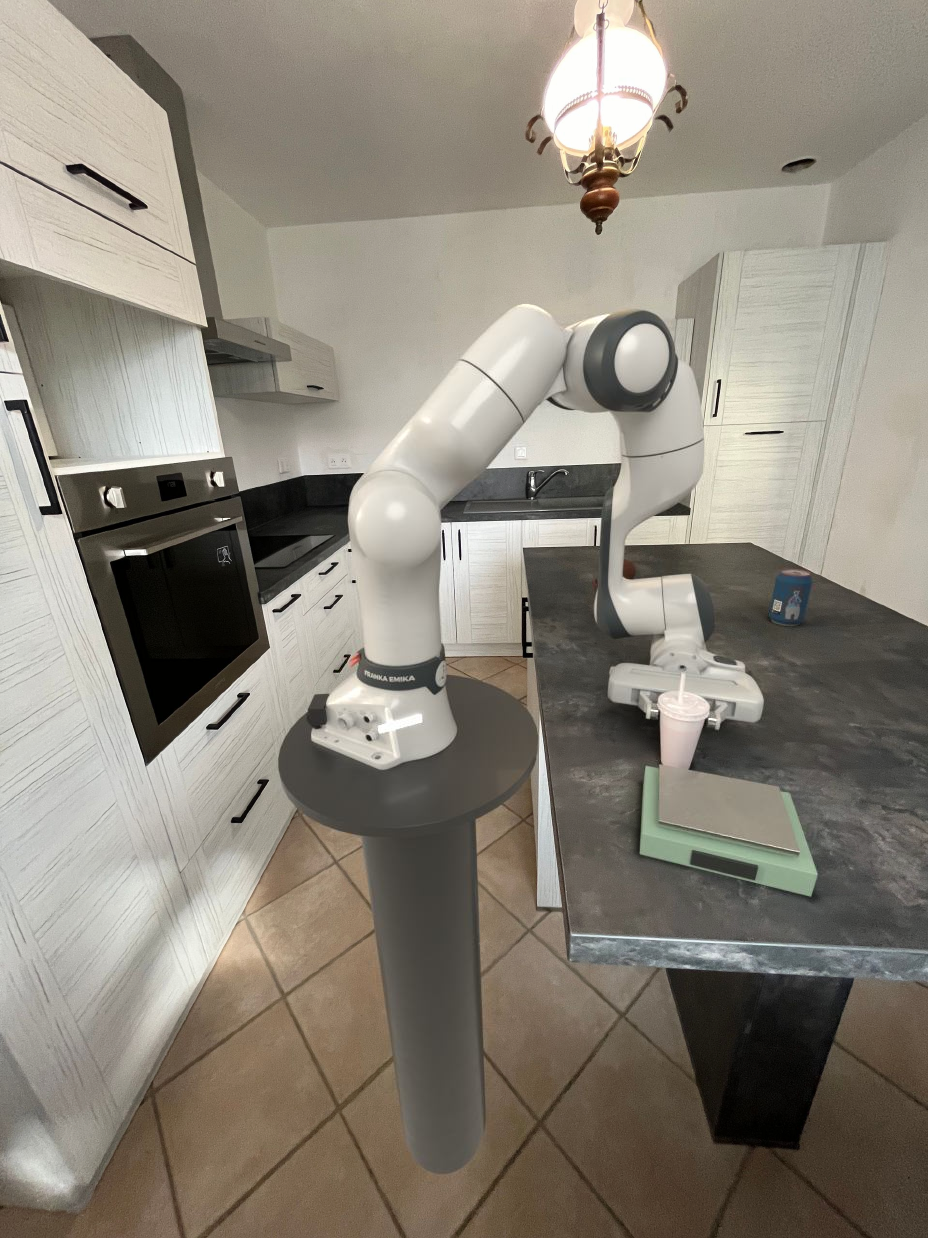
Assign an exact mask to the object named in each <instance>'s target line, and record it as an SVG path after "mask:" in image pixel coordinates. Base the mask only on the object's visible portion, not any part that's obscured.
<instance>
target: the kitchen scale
mask: <svg viewBox="0 0 928 1238" xmlns="http://www.w3.org/2000/svg"><path fill="white" fill-rule="evenodd" d="M644 768H645V769H644V775H643V785H642V803H641V822H640V823H641V824H640V841H639V854H640V855H641V856H645V857H648V858H649V857H650V858H653V859H656V860H662V861H666V862H669V863H674V864H678V865H681V866H685V867H689V868H693V869H697V870H702V871H706V872H710V873H715V874H716V875H717V874H718V875H722V876H726V877H730V878H734V879H737V880H738V879H739V880H742V881H745V882H750V883H754V884H758V885H763V886H765V887H766V886H767V887H771V888H774V889H778V890H782V891H785V892H786V891H787V892H790V893H793V894H797V895H803V896H806V897H809V898H810V897H812V895H813V891H814V889H815V886H816V882H817V879H818V875H819V873H818V871H817V868H816V865H815V862H814V860H813V857H812V856H813V855H812V854H811V850H810V847H809V844H808V842H807V839H806V836H805V834H804V830H803V828H802V825H801V824H802V823H801V822H800V818H799V816H798V813H797V809H796V807H795V803H794V801H793V797H792V796H791V793H790V792H788V791H787V792H786V791H781V790H780V791H781V794H782V797H783V801H784V804H785V807H786V810H787V813H788V816H789V819H790V822H791V825H792V828H793V832H794V835H795V838H796V841H797V844H798V847H799V850H800V854H799V858H796V857H792V856H787V855H783V854H779V853H774V852H770V851H765V850H761V849H757V848H752V847H748V846H743V845H739V844H735V843H730V842H726V841H721V840H717V839H713V838H708V837H704V836H699V835H695V834H691V833H686V832H682V831H677V830H673V829H669V828H664V827H660V826H658V771H659V767H654V766H648V765H645V767H644Z"/></svg>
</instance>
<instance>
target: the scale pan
mask: <svg viewBox="0 0 928 1238" xmlns="http://www.w3.org/2000/svg"><path fill="white" fill-rule="evenodd" d="M658 768H659V771H658V826H660V827H664V828H669V829H673V830H677V831H682V832H686V833H691V834H695V835H699V836H704V837H708V838H713V839H717V840H721V841H726V842H730V843H735V844H739V845H743V846H748V847H752V848H757V849H761V850H765V851H770V852H774V853H779V854H783V855H787V856H792V857H796V858H799V854H800V850H799V847H798V844H797V841H796V838H795V835H794V832H793V828H792V825H791V822H790V819H789V816H788V813H787V810H786V807H785V804H784V801H783V797H782V794H781V787H780V786H779V785H773V784H767V783H763V782H756V781H752V780H751V781H750V780H746V779H740V778H736V777H730V776H725V775H720V774H713V773H708V772H703V771H698V770H692V769H688V770H687V769H682V768H676V767H671V766H666V765H663V764H661V763H660V764H658Z"/></svg>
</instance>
